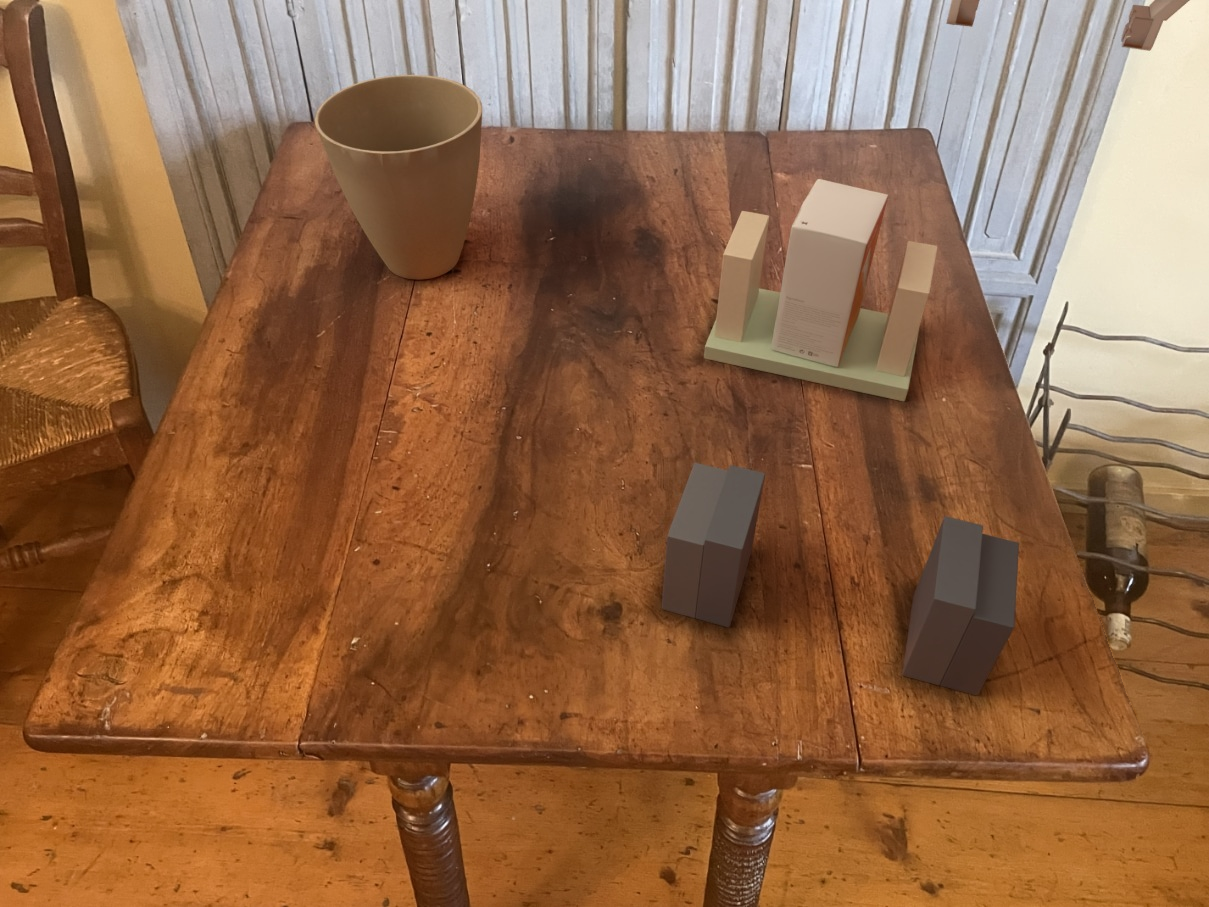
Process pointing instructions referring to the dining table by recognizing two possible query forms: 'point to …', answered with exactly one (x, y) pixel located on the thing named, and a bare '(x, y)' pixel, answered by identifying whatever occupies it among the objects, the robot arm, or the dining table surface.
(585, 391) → the dining table surface
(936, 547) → the grey bookends
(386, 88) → the plant pot
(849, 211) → the small box
